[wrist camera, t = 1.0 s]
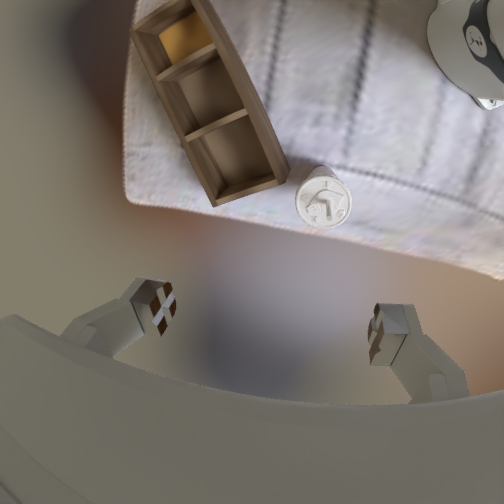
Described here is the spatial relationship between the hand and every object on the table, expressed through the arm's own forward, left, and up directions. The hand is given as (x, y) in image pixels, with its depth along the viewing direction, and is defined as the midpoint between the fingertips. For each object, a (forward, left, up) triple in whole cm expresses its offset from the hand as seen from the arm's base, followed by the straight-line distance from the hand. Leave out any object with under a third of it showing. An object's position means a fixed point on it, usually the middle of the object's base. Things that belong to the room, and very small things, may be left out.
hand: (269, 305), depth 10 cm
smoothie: (-1, +5, -31) cm, 31 cm away
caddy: (+8, -12, -30) cm, 34 cm away
